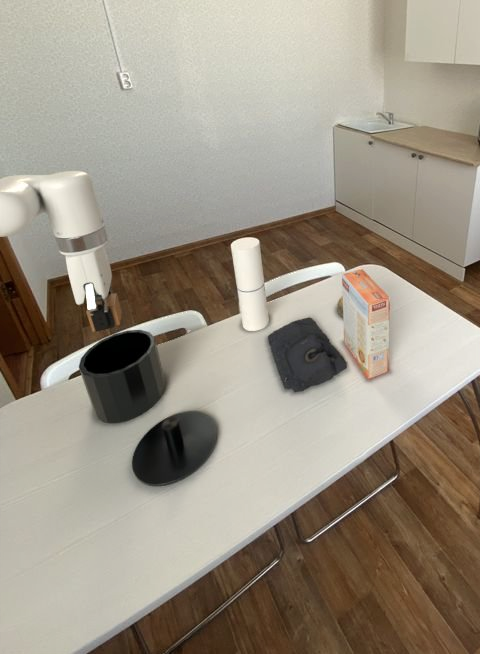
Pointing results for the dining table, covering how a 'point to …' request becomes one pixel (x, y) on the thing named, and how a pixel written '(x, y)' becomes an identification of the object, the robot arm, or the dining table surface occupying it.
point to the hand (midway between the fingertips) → (107, 319)
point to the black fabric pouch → (304, 355)
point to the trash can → (123, 375)
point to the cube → (113, 305)
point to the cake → (340, 307)
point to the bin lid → (174, 448)
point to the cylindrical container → (250, 283)
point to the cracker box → (366, 322)
